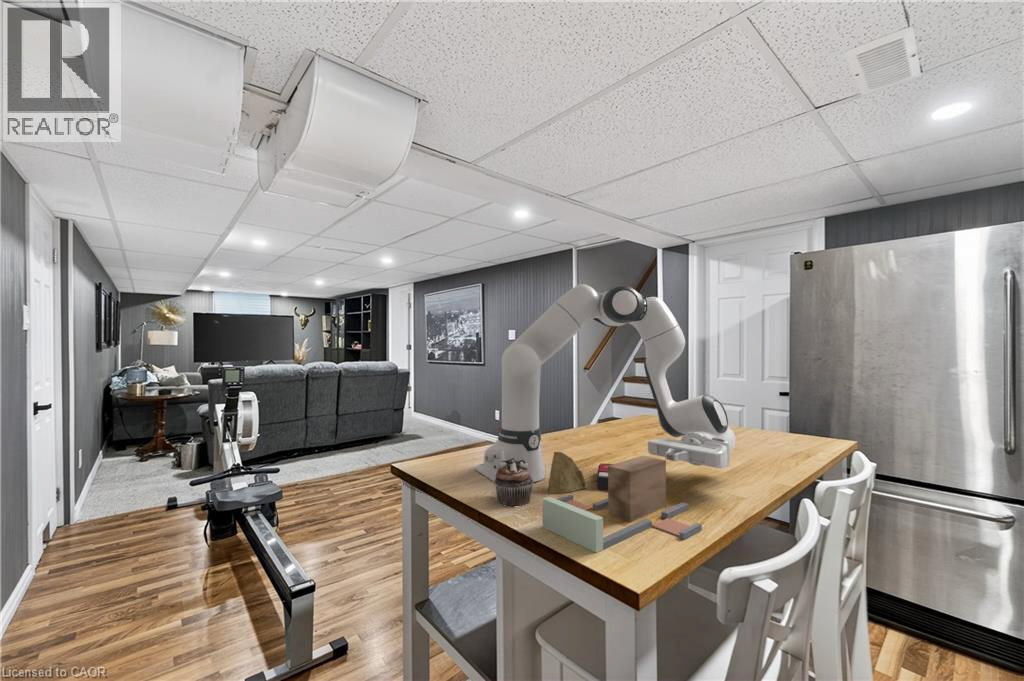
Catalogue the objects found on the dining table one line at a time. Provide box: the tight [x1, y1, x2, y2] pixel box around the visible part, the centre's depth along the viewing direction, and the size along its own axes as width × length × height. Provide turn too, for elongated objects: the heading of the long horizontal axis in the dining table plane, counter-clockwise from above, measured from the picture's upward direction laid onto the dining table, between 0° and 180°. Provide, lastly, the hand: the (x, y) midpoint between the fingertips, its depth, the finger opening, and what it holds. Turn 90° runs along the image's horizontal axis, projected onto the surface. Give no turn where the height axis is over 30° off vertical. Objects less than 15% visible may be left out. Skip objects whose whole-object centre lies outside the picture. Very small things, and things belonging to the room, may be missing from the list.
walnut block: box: [607, 455, 667, 523], centre depth 99 cm, size 6×14×11 cm, turn 129°
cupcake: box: [494, 458, 534, 508], centre depth 106 cm, size 10×10×10 cm
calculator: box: [596, 463, 614, 491], centre depth 120 cm, size 11×4×15 cm
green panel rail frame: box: [541, 494, 703, 554], centre depth 95 cm, size 30×33×6 cm
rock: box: [547, 451, 588, 495], centre depth 113 cm, size 11×9×10 cm
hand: (670, 457), depth 108 cm, fingers closed
